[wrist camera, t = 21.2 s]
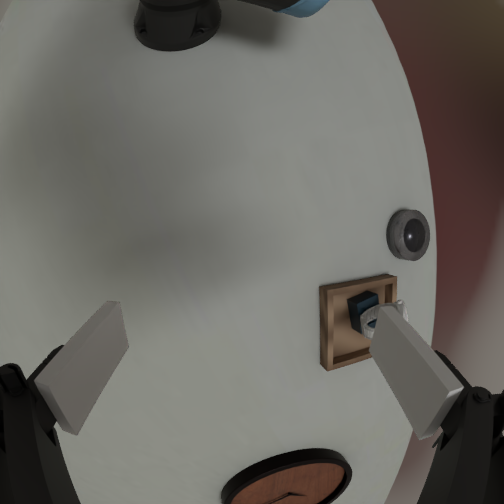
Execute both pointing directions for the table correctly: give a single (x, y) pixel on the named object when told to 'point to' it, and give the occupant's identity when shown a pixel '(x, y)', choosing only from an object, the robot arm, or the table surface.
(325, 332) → the rect wooden tray
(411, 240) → the round socket
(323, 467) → the wall clock
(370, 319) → the watch
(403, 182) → the table surface
